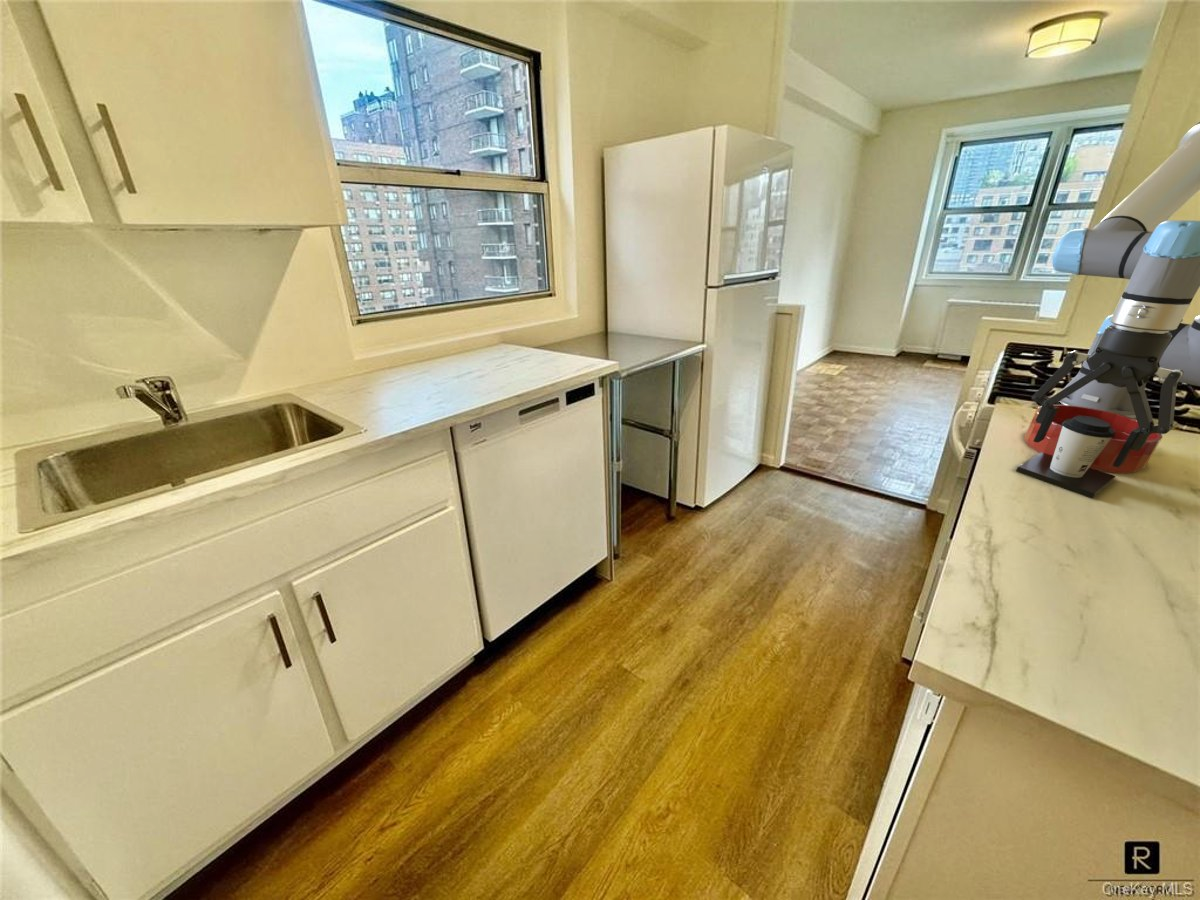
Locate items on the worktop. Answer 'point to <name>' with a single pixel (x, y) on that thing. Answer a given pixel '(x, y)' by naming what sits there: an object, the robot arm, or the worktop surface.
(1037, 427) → the bowl
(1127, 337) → the robot arm
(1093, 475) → the plate
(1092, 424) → the coffee cup
